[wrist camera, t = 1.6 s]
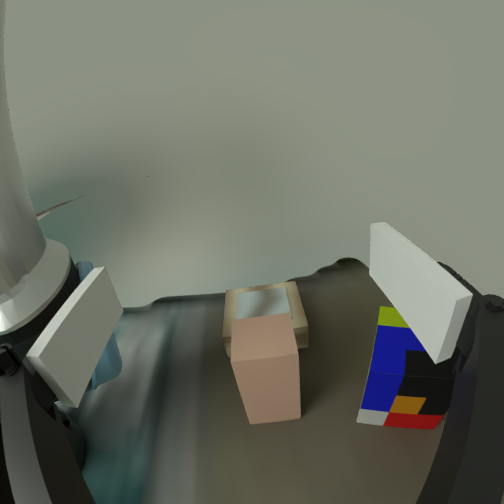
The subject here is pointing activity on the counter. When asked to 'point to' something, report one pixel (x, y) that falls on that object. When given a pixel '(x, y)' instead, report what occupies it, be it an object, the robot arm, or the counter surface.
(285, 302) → the pedestal
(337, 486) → the counter surface
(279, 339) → the pillar block
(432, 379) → the puzzle toy
